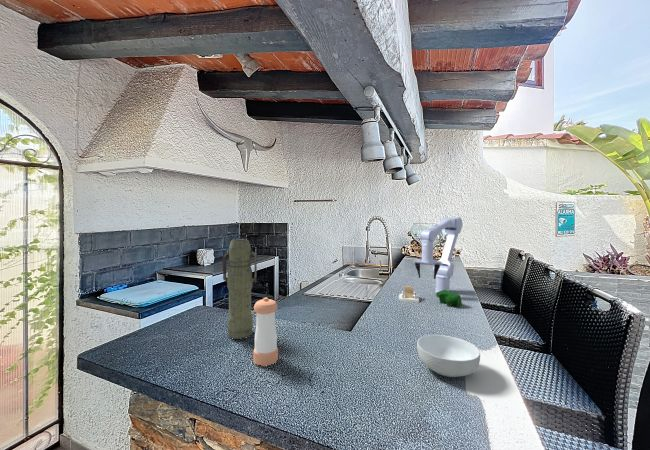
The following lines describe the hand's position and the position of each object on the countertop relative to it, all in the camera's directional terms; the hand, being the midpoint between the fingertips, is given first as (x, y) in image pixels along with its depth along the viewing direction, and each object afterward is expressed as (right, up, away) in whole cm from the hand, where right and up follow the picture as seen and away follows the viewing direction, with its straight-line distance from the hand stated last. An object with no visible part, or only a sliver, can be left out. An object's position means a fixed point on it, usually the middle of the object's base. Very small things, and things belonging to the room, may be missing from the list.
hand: (426, 278), depth 158 cm
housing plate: (-10, -10, -3) cm, 15 cm away
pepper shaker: (-72, -13, -68) cm, 100 cm away
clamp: (+7, -11, -11) cm, 17 cm away
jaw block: (-10, -9, -3) cm, 14 cm away
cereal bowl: (-19, -14, -73) cm, 77 cm away
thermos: (-85, -12, -50) cm, 100 cm away
